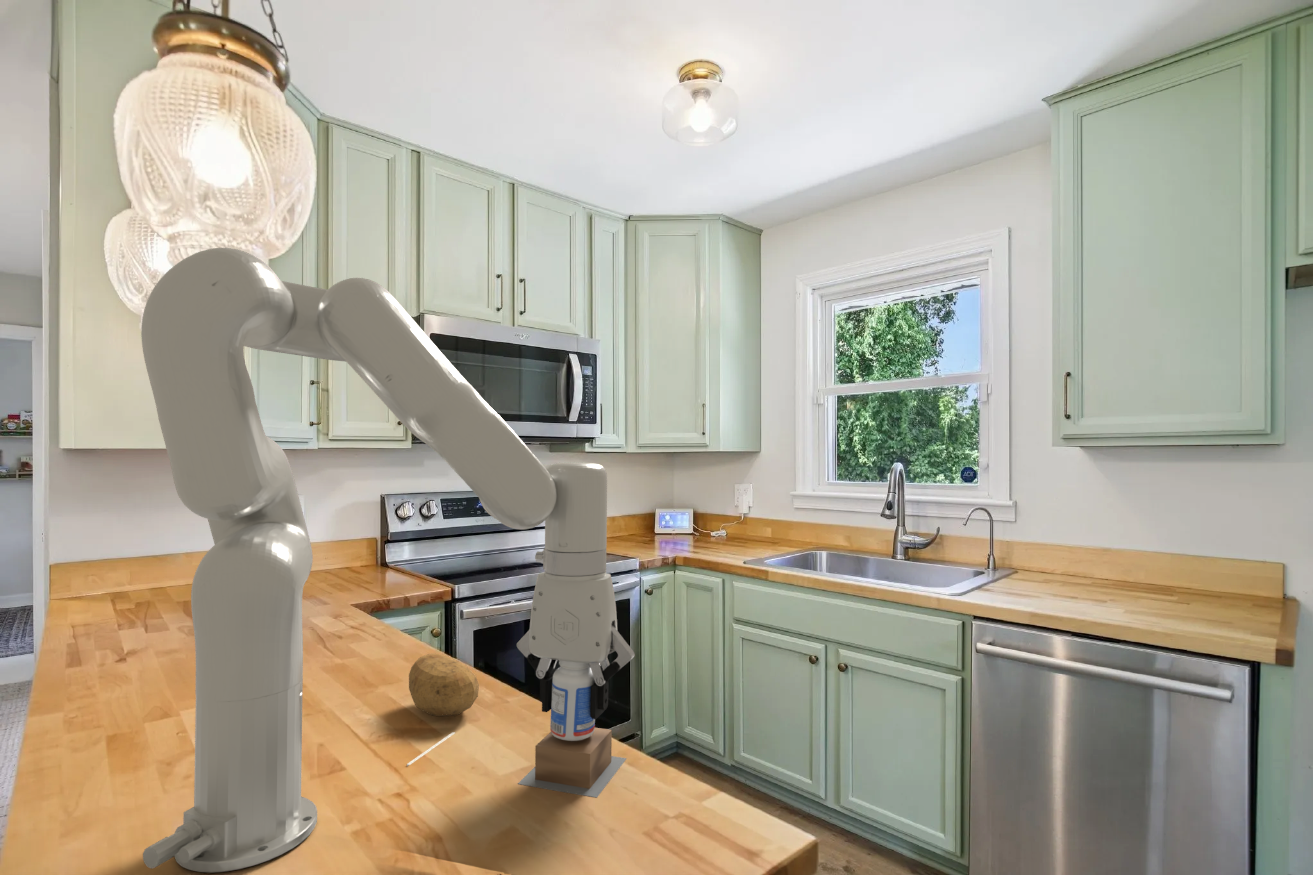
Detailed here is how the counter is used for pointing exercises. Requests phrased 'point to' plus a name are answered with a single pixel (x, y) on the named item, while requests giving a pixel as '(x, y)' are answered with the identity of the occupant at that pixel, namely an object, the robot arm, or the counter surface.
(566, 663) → the pill bottle
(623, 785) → the counter surface
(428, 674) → the potato
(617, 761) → the baseplate
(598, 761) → the brown square block
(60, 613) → the counter surface
